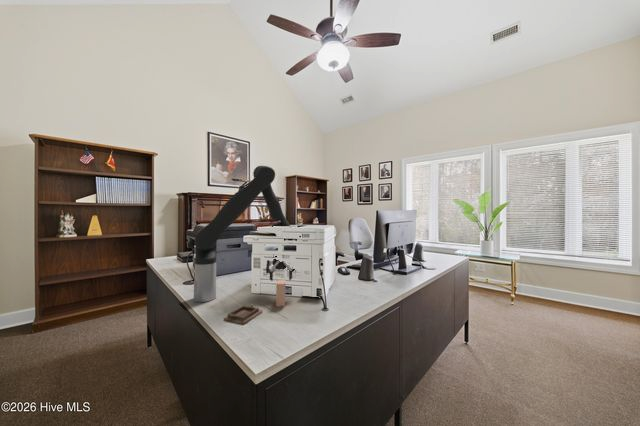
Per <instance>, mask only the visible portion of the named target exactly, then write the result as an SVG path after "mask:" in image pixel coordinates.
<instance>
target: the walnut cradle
mask: <svg viewBox="0 0 640 426" xmlns="http://www.w3.org/2000/svg"><path fill="white" fill-rule="evenodd" d="M262 313H263V310H260V308H258V307H255V306H254V304H253V303H251V304H250V306H249V305H248V306H247V305H242V306H239V307H238V308H237V309H235V310H233V311H232V312H230V313H228V314H227V316H225V317H223V321H225V322H231V323H234V324H240V325H243V326H244V325H246V324H248V323H249V322H250V321H252V320H253V319H255V318H256V317H258V316H259V315H261V314H262Z"/></svg>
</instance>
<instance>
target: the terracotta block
mask: <svg viewBox="0 0 640 426" xmlns="http://www.w3.org/2000/svg"><path fill="white" fill-rule="evenodd" d="M275 284H276V288H275V289H276V290H275V291H276V292H275V294H276V297H275V301H276V302H275V307H286V284H287V283H286V279H276V283H275Z"/></svg>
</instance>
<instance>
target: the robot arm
mask: <svg viewBox="0 0 640 426" xmlns="http://www.w3.org/2000/svg"><path fill="white" fill-rule="evenodd" d="M252 174H253V178H252V180H251V181H250V182H249V183H248V184H247V185H245V186H244V187H243V188H241V189H239V190H238V191H237V192H235V193H234V194H232V196H231V197H230V198H229V199H228V200H227V201H226V202H225V203H224V204H223V206H222V207H221V209H219V210H218V212H217V214H216V215H215V217H214V218H213V219H212V220H211V221H210V222H209V223H208V224H207V225H206V226H204V228H202V229H201V230H199V231H198V232H197V233H196V235H195V237H194V244H195V254H194V281H193V302H194V303H195V302H197V303H204V302H205V303H206V302H210V301H213V300H215V299H216V298H217V252H218V251H217V247H218V246H217V243H218V240H219V238H221V236H222V235H223V234H224V232H225V231H226V230H227V229H228V228H229V227H231V225H232V224H233V223H234V222H235V221H236V220H238V219H239V218H240V217H241V215H242V214H243V213H244V212H245V211H247V209H248V208H249V207H250V205H252V203H253V202H254V201H255V200H256V199H257V198H258V196H259V195H260V194H262V196H263V198H264V200H265V201H264V202H265V204H266V207H267V210H268V213H269V216H270V219H271V220H272V221H277V222H273V223H272V224H271V226H270V228H271V227H273V226H290V227H291V224H290V223H289V221H288V220H287V218H286V216H285V214H284V212H283V210H282V206H281V203H280V202H279V199H278V197H277V196H276V193H275V191H274V190H273V187H272V183H273V182H274V181H275V178H276V172H275V169H274V168H272V166H271V167H270V166H268V165H258V166H256V167H255V168H254V170H253V173H252ZM275 257H277V256H275ZM271 265H272V267H271V268H270V266H271ZM286 267H287V270H289V272H288V276H289V277H288V279H289V281H291V280H292V279H293V273H294V272H293V271H294V270H295V269H293V268H291V266H290V264H289V265H287V264H286V263H285V262H284V261H282V262H280V261H279V260H276V259H273V260H271V261H270V260H266V267H265V272H266V274H269V280H270V281H271V282H272V281H273V280H274V279H273V278H274V275H273V273H274V272H276V270H279V271H280V270H283V271H285V270H286V269H285V268H286ZM287 270H286V271H287ZM295 271H296V270H295ZM292 272H293V273H292Z"/></svg>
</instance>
